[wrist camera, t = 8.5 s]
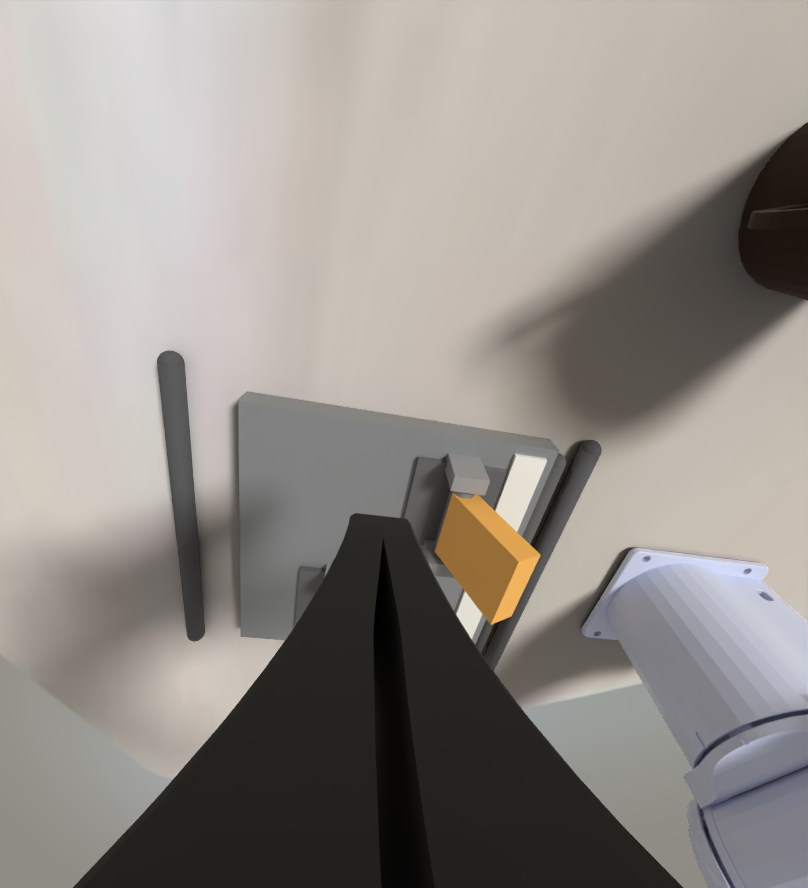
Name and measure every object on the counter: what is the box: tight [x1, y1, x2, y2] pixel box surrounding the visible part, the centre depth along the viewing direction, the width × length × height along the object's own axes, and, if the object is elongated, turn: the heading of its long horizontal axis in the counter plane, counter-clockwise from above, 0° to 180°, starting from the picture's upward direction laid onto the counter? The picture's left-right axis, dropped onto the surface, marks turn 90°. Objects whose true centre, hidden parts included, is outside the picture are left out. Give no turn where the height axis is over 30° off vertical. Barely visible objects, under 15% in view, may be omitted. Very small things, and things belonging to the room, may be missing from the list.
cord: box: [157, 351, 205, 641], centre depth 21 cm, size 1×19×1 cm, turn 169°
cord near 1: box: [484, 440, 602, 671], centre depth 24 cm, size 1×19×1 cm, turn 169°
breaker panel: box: [238, 392, 559, 644], centre depth 21 cm, size 15×16×3 cm
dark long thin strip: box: [475, 453, 566, 653], centre depth 23 cm, size 1×17×1 cm, turn 169°
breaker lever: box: [433, 491, 540, 625], centre depth 17 cm, size 1×4×5 cm, turn 169°
